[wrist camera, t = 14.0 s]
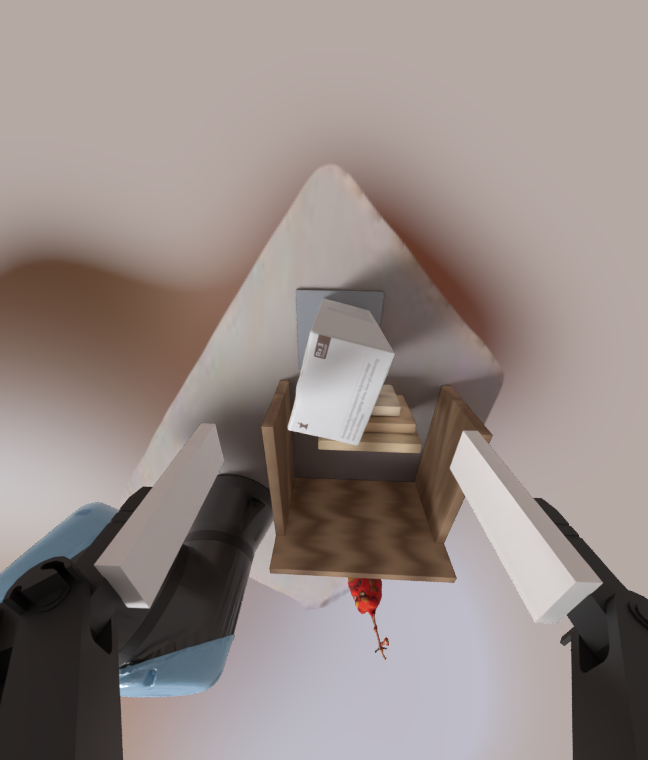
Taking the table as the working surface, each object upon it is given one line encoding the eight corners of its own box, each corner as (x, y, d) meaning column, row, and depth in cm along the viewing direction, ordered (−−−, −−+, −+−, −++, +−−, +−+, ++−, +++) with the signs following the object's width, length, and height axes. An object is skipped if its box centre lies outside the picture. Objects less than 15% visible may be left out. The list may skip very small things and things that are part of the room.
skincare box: (349, 369, 32) (360, 452, 19) (305, 358, 32) (284, 436, 18) (371, 305, 28) (403, 355, 15) (320, 292, 28) (307, 332, 14)
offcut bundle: (321, 409, 36) (318, 449, 29) (321, 382, 34) (318, 418, 27) (402, 412, 36) (419, 453, 29) (408, 385, 33) (428, 422, 26)
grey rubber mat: (299, 367, 33) (298, 369, 32) (296, 289, 28) (295, 290, 28) (373, 370, 32) (374, 371, 32) (383, 291, 28) (384, 292, 27)
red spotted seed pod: (359, 547, 53) (367, 646, 40) (385, 557, 54) (402, 655, 41) (340, 562, 56) (343, 658, 43) (366, 571, 58) (375, 666, 45)
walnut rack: (288, 481, 44) (270, 573, 31) (280, 380, 34) (249, 456, 21) (419, 487, 43) (454, 582, 31) (450, 385, 33) (519, 466, 21)
